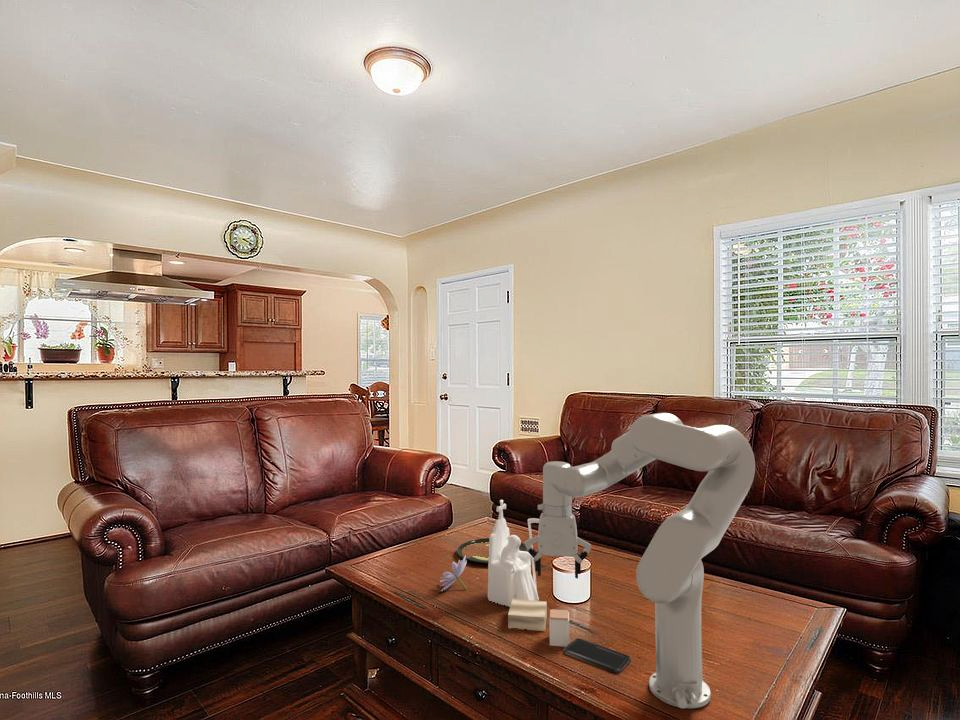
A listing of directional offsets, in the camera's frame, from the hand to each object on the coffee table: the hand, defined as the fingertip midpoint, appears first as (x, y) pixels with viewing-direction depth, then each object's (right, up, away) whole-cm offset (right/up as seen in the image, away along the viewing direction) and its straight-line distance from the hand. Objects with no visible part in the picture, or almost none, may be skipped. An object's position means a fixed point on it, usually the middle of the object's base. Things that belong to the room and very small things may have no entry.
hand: (557, 575), depth 137 cm
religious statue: (-8, -18, +26) cm, 33 cm away
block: (-7, -18, +11) cm, 22 cm away
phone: (+8, -17, -8) cm, 21 cm away
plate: (-15, -19, +65) cm, 69 cm away
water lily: (-29, -18, +34) cm, 49 cm away
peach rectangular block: (0, -17, -1) cm, 17 cm away
